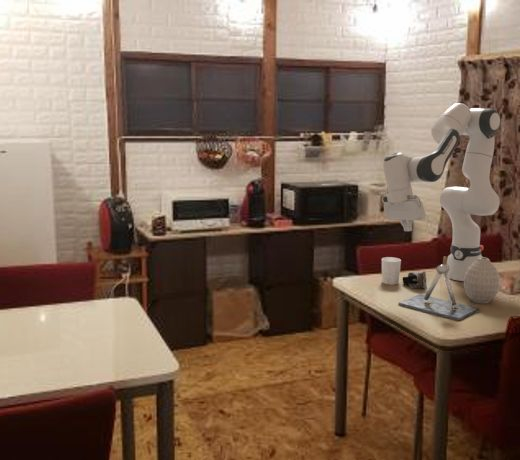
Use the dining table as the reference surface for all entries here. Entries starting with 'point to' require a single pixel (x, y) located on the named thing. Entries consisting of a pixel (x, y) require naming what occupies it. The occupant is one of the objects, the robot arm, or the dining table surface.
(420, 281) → the caster wheel
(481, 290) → the vase
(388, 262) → the white cup
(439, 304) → the blue and grey frame
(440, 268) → the leg
